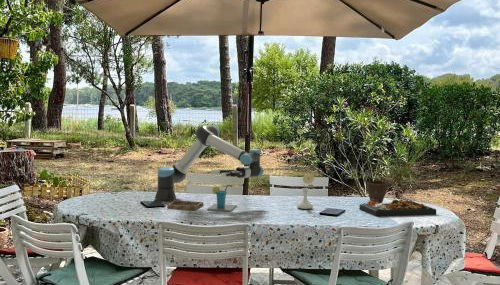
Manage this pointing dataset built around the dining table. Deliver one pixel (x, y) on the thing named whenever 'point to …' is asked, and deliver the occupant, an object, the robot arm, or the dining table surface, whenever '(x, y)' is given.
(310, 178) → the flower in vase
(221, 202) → the cup
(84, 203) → the dining table surface
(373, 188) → the plant pot
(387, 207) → the food platter
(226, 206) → the board
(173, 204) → the wooden picture frame
